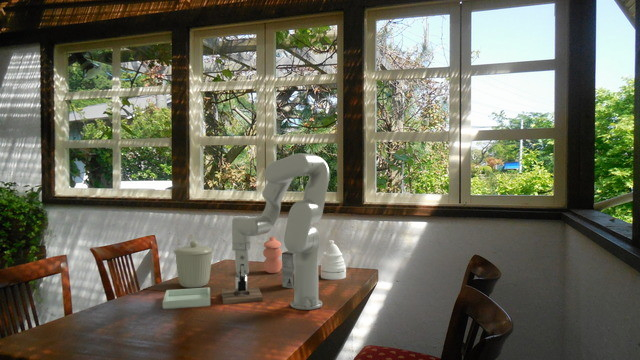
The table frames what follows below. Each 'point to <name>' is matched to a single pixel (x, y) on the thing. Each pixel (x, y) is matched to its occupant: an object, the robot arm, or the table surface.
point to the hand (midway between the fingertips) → (241, 288)
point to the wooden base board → (241, 296)
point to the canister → (193, 265)
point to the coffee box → (288, 269)
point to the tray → (186, 298)
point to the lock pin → (237, 285)
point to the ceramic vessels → (272, 257)
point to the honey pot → (333, 263)
